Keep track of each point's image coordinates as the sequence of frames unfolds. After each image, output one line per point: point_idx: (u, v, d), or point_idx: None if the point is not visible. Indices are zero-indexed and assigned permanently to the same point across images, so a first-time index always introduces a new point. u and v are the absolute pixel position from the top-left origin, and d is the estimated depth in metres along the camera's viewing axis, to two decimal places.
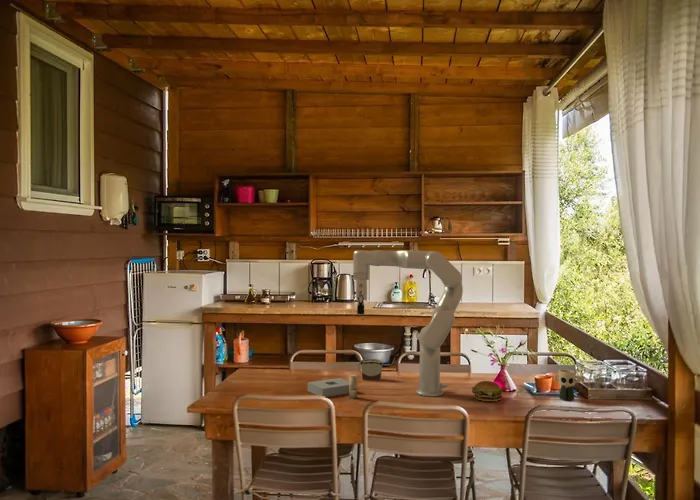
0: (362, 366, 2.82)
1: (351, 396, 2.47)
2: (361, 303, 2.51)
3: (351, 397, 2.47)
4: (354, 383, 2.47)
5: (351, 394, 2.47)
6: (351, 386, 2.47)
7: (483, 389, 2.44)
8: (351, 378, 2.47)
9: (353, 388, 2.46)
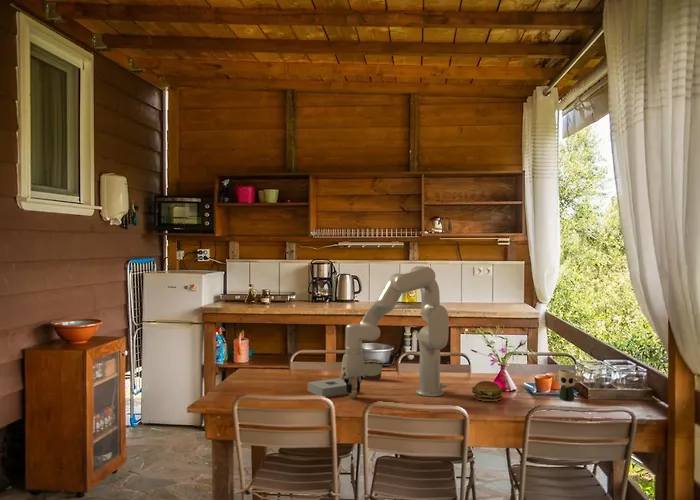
0: None
1: (351, 396, 2.47)
2: None
3: (351, 397, 2.47)
4: (354, 383, 2.47)
5: (351, 394, 2.47)
6: None
7: (483, 389, 2.44)
8: (351, 378, 2.47)
9: (353, 388, 2.46)
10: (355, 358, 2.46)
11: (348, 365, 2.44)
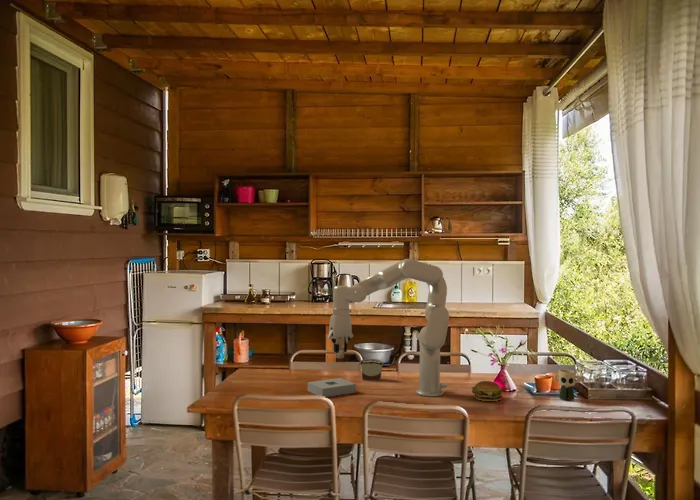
0: (362, 366, 2.82)
1: (338, 356, 2.52)
2: None
3: (338, 357, 2.52)
4: (342, 343, 2.52)
5: (338, 354, 2.52)
6: None
7: (483, 389, 2.44)
8: None
9: (340, 348, 2.52)
10: (342, 318, 2.52)
11: (335, 325, 2.50)
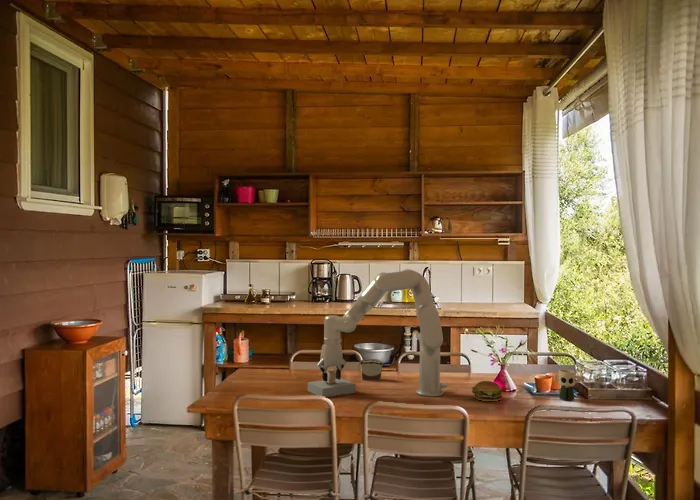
0: (362, 366, 2.82)
1: None
2: None
3: None
4: (333, 378, 2.57)
5: None
6: (329, 380, 2.57)
7: (483, 389, 2.44)
8: (329, 373, 2.57)
9: (331, 382, 2.57)
10: (333, 348, 2.56)
11: (326, 355, 2.54)
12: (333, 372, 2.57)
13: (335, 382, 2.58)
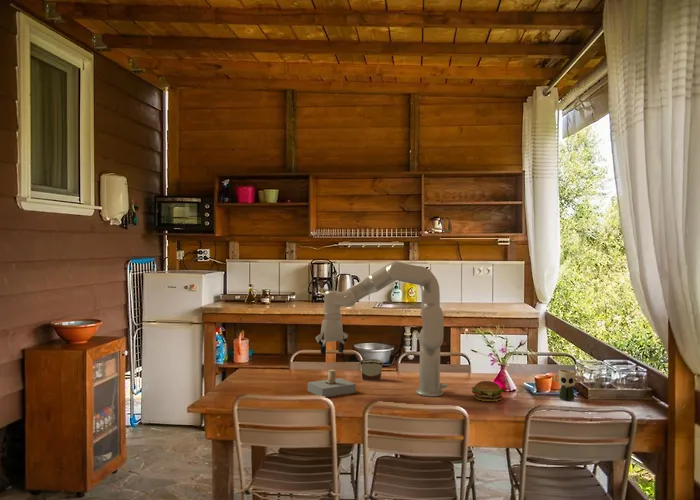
0: (362, 366, 2.82)
1: None
2: None
3: None
4: (333, 378, 2.57)
5: None
6: (329, 380, 2.57)
7: (483, 389, 2.44)
8: (329, 373, 2.57)
9: (331, 382, 2.57)
10: (333, 323, 2.56)
11: (327, 330, 2.54)
12: (333, 372, 2.57)
13: (335, 382, 2.58)
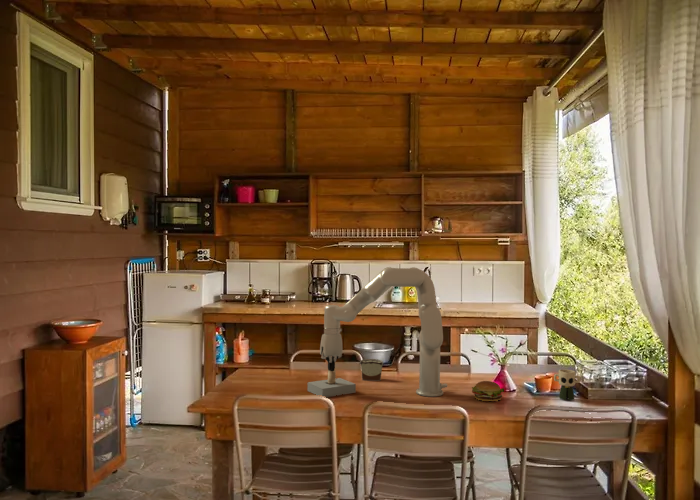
0: (362, 366, 2.82)
1: None
2: None
3: None
4: (333, 378, 2.57)
5: None
6: (329, 380, 2.57)
7: (483, 389, 2.44)
8: (329, 373, 2.57)
9: (331, 382, 2.57)
10: (333, 337, 2.56)
11: (326, 344, 2.54)
12: (333, 372, 2.57)
13: (335, 382, 2.58)
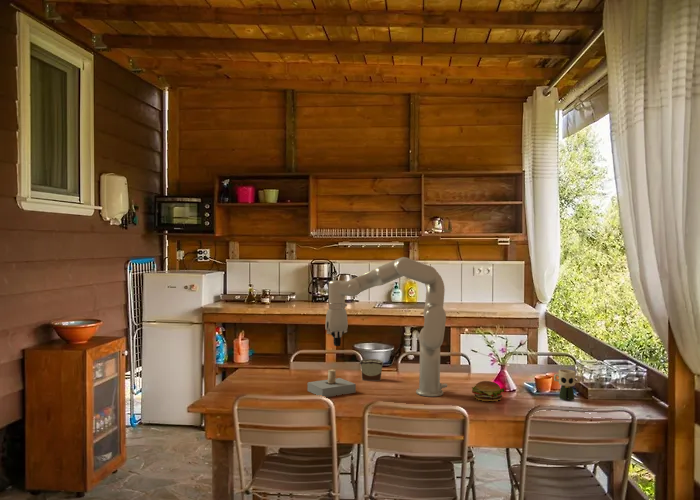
0: (362, 366, 2.82)
1: None
2: None
3: None
4: (333, 378, 2.57)
5: None
6: (329, 380, 2.57)
7: (483, 389, 2.44)
8: (329, 373, 2.57)
9: (331, 382, 2.57)
10: (338, 312, 2.56)
11: (331, 319, 2.54)
12: (333, 372, 2.57)
13: (335, 382, 2.58)
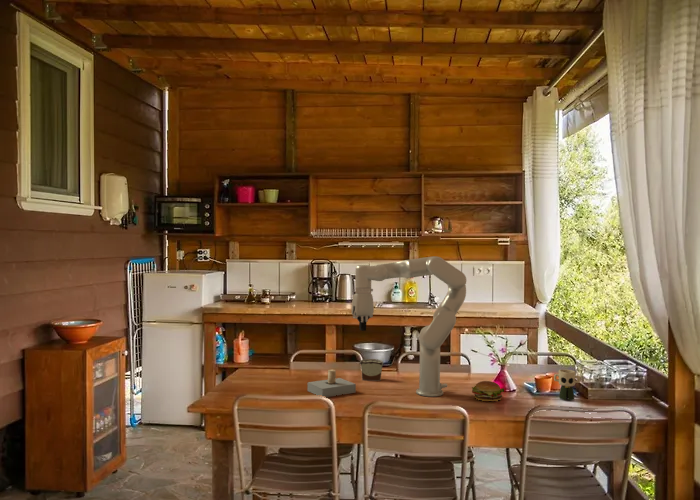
0: (362, 366, 2.82)
1: None
2: None
3: None
4: (333, 378, 2.57)
5: None
6: (329, 380, 2.57)
7: (483, 389, 2.44)
8: (329, 373, 2.57)
9: (331, 382, 2.57)
10: (364, 297, 2.56)
11: (358, 303, 2.54)
12: (333, 372, 2.57)
13: (335, 382, 2.58)
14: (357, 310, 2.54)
